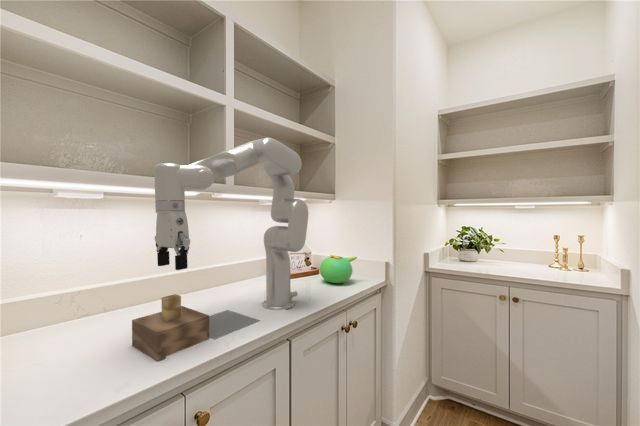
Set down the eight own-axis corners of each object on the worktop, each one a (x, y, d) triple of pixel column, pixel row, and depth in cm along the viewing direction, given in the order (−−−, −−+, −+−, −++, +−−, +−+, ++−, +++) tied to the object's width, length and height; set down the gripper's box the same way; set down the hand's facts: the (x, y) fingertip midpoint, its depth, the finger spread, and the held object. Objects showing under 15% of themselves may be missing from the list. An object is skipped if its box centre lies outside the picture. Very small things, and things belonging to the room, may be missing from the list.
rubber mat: (227, 311, 110) (227, 310, 110) (260, 321, 100) (260, 320, 100) (181, 326, 95) (181, 325, 95) (214, 341, 85) (214, 339, 85)
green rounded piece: (313, 281, 156) (313, 254, 156) (337, 277, 166) (337, 251, 166) (335, 288, 142) (335, 258, 141) (360, 283, 152) (360, 255, 152)
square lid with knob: (182, 328, 94) (182, 287, 94) (209, 340, 86) (209, 294, 85) (132, 345, 82) (131, 298, 82) (157, 361, 74) (157, 308, 73)
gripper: (200, 207, 81) (201, 268, 82) (168, 207, 91) (169, 262, 92) (173, 207, 75) (175, 273, 76) (142, 207, 85) (144, 266, 86)
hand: (172, 267), depth 84 cm, fingers open, 9 cm apart
